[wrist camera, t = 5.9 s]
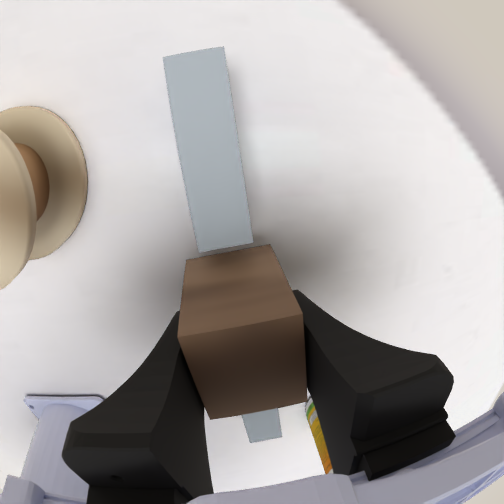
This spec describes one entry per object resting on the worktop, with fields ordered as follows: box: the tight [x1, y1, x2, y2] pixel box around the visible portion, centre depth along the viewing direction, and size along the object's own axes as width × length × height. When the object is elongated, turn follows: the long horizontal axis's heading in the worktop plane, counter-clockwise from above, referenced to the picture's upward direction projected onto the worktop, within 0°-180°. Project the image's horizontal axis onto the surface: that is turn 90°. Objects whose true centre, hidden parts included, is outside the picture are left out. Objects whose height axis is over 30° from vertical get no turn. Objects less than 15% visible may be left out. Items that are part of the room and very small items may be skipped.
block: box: [177, 244, 307, 420], centre depth 12 cm, size 4×4×5 cm
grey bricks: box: [163, 47, 282, 443], centre depth 15 cm, size 20×2×4 cm, turn 8°
